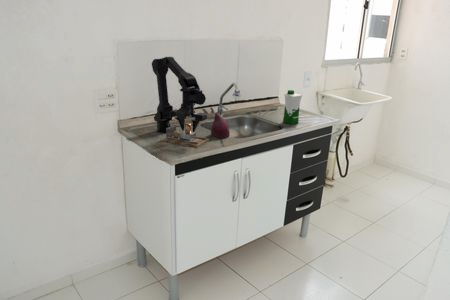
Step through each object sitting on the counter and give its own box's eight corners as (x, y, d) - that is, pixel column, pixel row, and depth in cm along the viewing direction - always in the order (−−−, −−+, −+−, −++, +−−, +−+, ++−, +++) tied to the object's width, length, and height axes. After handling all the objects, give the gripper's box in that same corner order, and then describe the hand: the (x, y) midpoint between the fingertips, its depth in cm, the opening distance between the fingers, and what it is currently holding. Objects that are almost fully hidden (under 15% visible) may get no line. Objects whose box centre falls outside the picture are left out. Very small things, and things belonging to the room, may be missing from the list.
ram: (179, 139, 186) (179, 124, 184) (185, 136, 192) (185, 121, 189) (190, 141, 184) (190, 126, 181) (196, 138, 189) (196, 123, 186)
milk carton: (289, 120, 237) (292, 89, 231) (300, 123, 231) (304, 91, 224) (280, 122, 232) (283, 90, 225) (291, 125, 225) (294, 93, 219)
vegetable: (214, 144, 196) (209, 119, 188) (209, 136, 204) (204, 112, 197) (232, 138, 197) (228, 114, 190) (227, 131, 206) (222, 107, 198)
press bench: (163, 141, 187) (163, 129, 185) (176, 135, 198) (175, 124, 195) (198, 147, 180) (198, 135, 178) (208, 141, 190) (209, 129, 188)
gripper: (163, 102, 178) (164, 132, 183) (196, 106, 171) (196, 138, 176) (175, 98, 187) (175, 127, 193) (207, 102, 180) (207, 132, 186)
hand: (188, 131), depth 186 cm, fingers open, 6 cm apart
